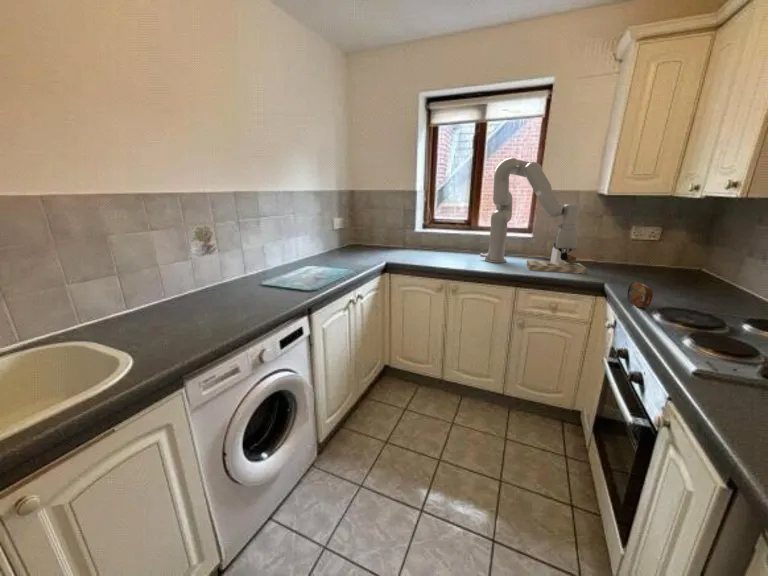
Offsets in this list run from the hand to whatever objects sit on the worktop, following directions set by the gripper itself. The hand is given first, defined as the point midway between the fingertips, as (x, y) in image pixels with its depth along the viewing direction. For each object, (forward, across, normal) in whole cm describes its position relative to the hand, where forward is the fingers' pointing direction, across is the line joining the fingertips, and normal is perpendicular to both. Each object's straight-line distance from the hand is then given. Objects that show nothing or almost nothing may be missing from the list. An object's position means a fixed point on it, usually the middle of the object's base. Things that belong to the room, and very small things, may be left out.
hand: (563, 259), depth 185 cm
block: (+1, +3, 0) cm, 3 cm away
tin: (+6, +14, -58) cm, 60 cm away
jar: (+5, +2, +16) cm, 17 cm away
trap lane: (+5, -4, -3) cm, 7 cm away
